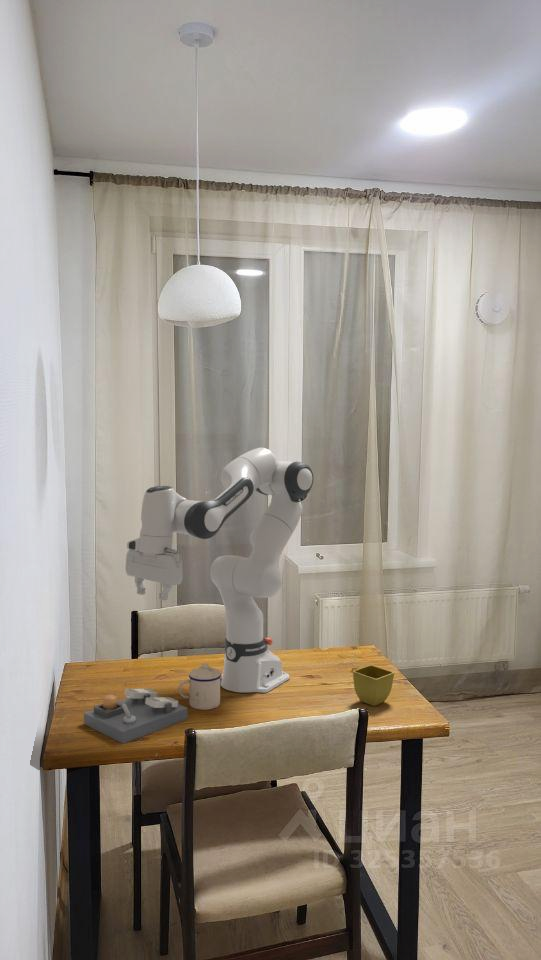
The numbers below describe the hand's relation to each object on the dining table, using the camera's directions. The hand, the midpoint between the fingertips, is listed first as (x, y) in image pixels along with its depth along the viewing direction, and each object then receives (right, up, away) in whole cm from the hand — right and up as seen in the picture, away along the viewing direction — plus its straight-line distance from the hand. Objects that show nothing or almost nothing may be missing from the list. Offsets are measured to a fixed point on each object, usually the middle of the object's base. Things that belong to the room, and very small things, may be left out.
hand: (151, 597), depth 196 cm
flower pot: (+61, -33, +13) cm, 71 cm away
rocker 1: (-4, -27, +3) cm, 27 cm away
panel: (-4, -33, -3) cm, 33 cm away
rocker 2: (+3, -28, -3) cm, 28 cm away
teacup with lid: (+12, -32, +9) cm, 35 cm away
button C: (-10, -28, -5) cm, 30 cm away
